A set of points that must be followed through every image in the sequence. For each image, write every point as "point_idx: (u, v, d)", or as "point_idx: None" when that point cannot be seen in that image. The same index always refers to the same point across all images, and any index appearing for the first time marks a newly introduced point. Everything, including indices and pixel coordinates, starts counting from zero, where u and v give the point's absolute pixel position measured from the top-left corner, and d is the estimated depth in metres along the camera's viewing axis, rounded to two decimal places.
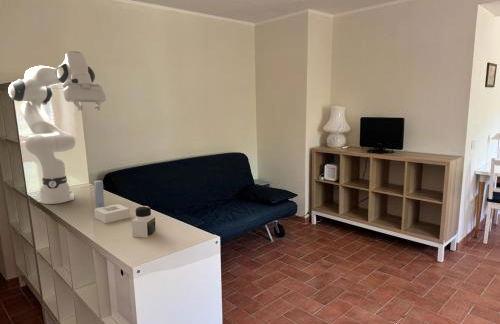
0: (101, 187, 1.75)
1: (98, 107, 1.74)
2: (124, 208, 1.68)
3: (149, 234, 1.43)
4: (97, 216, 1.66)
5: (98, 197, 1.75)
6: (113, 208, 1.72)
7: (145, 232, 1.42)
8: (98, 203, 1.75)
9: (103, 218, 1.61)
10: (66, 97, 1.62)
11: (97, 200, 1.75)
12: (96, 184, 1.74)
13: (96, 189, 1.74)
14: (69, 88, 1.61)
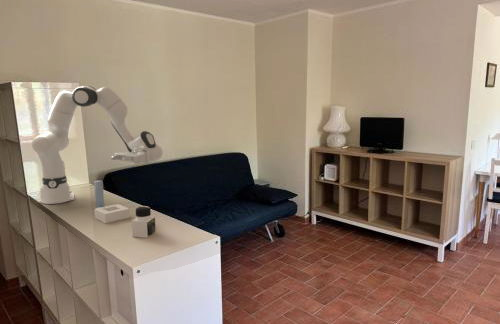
0: (101, 187, 1.75)
1: (113, 159, 1.88)
2: (124, 208, 1.68)
3: (149, 234, 1.43)
4: (97, 216, 1.66)
5: (98, 197, 1.75)
6: (113, 208, 1.72)
7: (145, 232, 1.42)
8: (98, 203, 1.75)
9: (103, 218, 1.61)
10: (139, 158, 1.84)
11: (97, 200, 1.75)
12: (96, 184, 1.74)
13: (96, 189, 1.74)
14: (143, 162, 1.88)
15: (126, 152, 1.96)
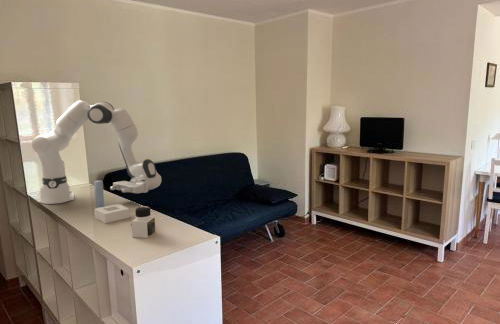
0: (101, 187, 1.75)
1: None
2: (124, 208, 1.68)
3: (149, 234, 1.43)
4: (97, 216, 1.66)
5: (98, 197, 1.75)
6: (113, 208, 1.72)
7: (145, 232, 1.42)
8: (98, 203, 1.75)
9: (103, 218, 1.61)
10: (138, 189, 1.86)
11: (97, 200, 1.75)
12: (96, 184, 1.74)
13: (96, 189, 1.74)
14: (142, 192, 1.90)
15: (125, 181, 1.98)
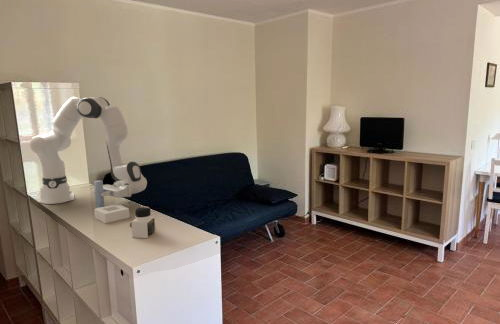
0: (101, 187, 1.75)
1: None
2: (124, 208, 1.68)
3: (149, 234, 1.43)
4: (97, 216, 1.66)
5: (97, 197, 1.75)
6: (113, 208, 1.72)
7: (145, 233, 1.42)
8: (98, 203, 1.75)
9: (103, 218, 1.61)
10: (120, 193, 1.76)
11: (97, 200, 1.75)
12: (96, 184, 1.74)
13: (96, 189, 1.74)
14: (125, 196, 1.80)
15: (108, 185, 1.88)
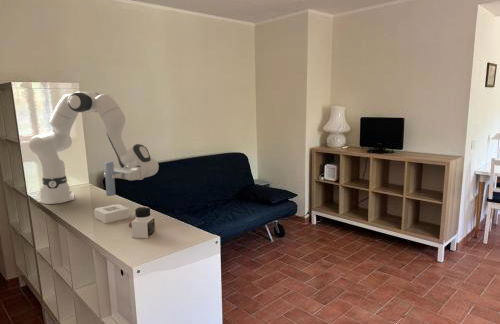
0: (112, 168, 1.64)
1: None
2: (124, 208, 1.68)
3: (149, 234, 1.43)
4: (97, 216, 1.66)
5: (108, 179, 1.63)
6: (113, 208, 1.72)
7: (145, 233, 1.41)
8: (108, 186, 1.64)
9: (103, 218, 1.61)
10: (132, 175, 1.64)
11: (108, 182, 1.64)
12: (106, 165, 1.62)
13: (106, 171, 1.63)
14: (137, 179, 1.68)
15: (118, 167, 1.77)
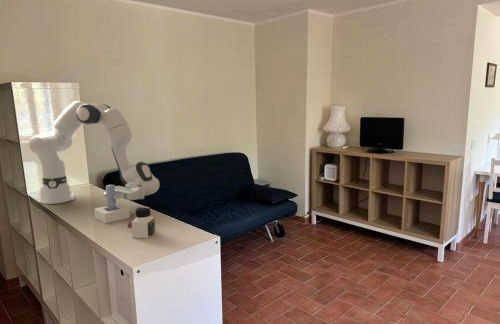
0: (113, 192, 1.66)
1: None
2: (124, 208, 1.68)
3: (149, 235, 1.43)
4: (97, 216, 1.66)
5: (110, 202, 1.65)
6: None
7: (145, 233, 1.41)
8: (110, 209, 1.66)
9: (103, 218, 1.61)
10: (133, 195, 1.66)
11: (109, 206, 1.66)
12: (108, 189, 1.64)
13: (108, 194, 1.65)
14: (138, 198, 1.70)
15: (119, 186, 1.78)
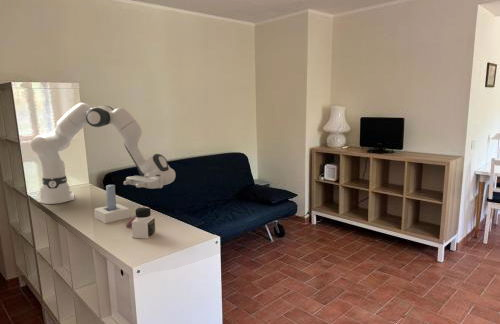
0: (113, 192, 1.66)
1: None
2: (124, 208, 1.68)
3: (150, 235, 1.43)
4: (97, 216, 1.66)
5: (110, 202, 1.65)
6: None
7: (145, 233, 1.41)
8: (110, 209, 1.66)
9: (103, 218, 1.61)
10: (153, 184, 1.76)
11: (109, 206, 1.66)
12: (108, 189, 1.64)
13: (108, 194, 1.65)
14: (157, 187, 1.80)
15: (139, 176, 1.89)
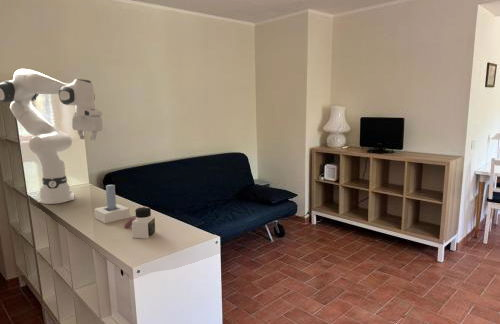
0: (113, 192, 1.66)
1: None
2: (124, 208, 1.68)
3: (150, 235, 1.43)
4: (97, 216, 1.66)
5: (109, 202, 1.65)
6: None
7: (145, 233, 1.41)
8: (110, 209, 1.66)
9: (103, 218, 1.61)
10: (98, 127, 1.68)
11: (109, 205, 1.66)
12: (108, 189, 1.64)
13: (108, 194, 1.65)
14: None
15: (75, 117, 1.74)
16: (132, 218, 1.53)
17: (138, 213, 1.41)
